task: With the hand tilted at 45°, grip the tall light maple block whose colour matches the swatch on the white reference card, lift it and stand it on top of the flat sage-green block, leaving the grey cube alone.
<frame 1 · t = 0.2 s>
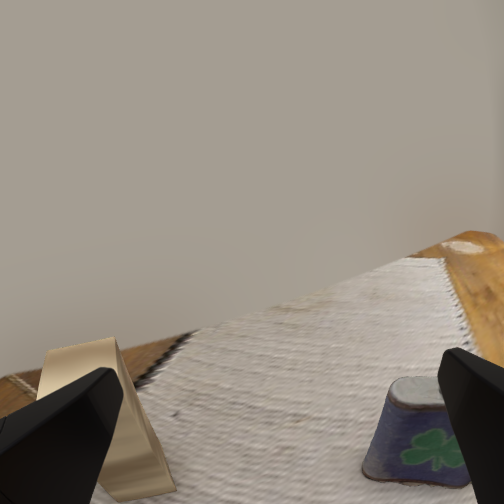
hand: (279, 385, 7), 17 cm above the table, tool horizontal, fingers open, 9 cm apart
flask: (419, 473, 16), on the table
maple pillar: (140, 473, 18), on the table
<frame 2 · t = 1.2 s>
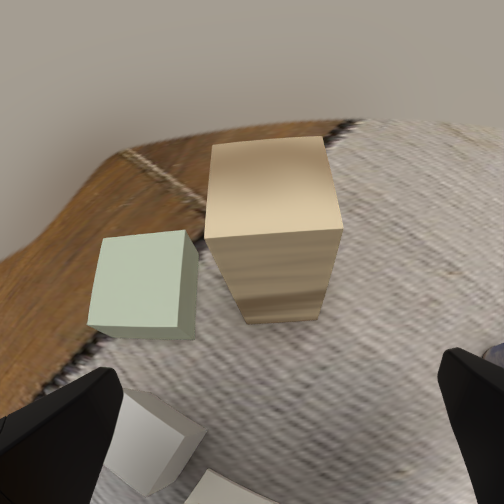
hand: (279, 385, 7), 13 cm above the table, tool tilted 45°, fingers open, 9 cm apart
maple pillar: (280, 289, 22), on the table
grey cube: (162, 437, 18), on the table
sage base block: (156, 297, 24), on the table
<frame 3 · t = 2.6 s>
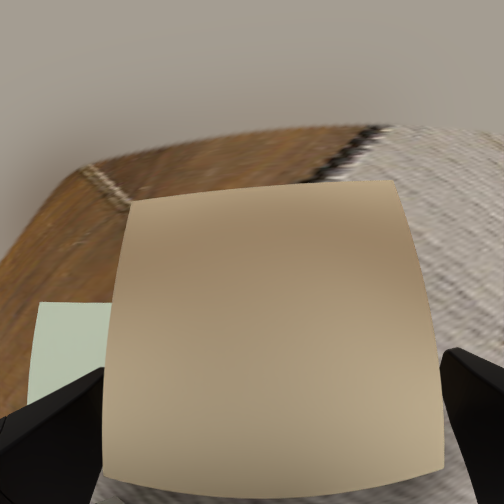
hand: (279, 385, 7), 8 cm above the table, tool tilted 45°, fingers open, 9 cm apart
maple pillar: (282, 383, 15), on the table
sage base block: (114, 379, 16), on the table
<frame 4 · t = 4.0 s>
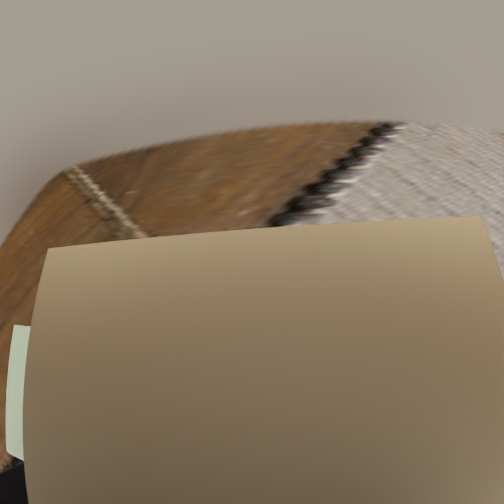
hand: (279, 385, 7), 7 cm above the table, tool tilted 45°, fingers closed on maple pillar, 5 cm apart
maple pillar: (284, 421, 12), on the table, touching gripper
sage base block: (98, 409, 13), on the table
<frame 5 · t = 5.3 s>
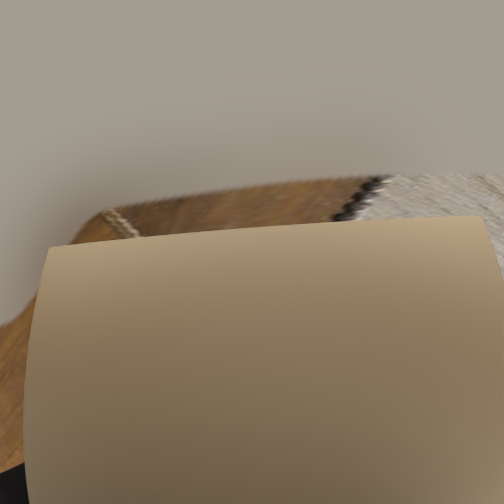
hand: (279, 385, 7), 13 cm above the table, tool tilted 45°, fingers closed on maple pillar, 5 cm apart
maple pillar: (284, 420, 12), point 7 cm above the table, touching gripper
when the fingers open (11 cm above the table, at t = 6.8 s): maple pillar drops 1 cm, resting on sage base block.
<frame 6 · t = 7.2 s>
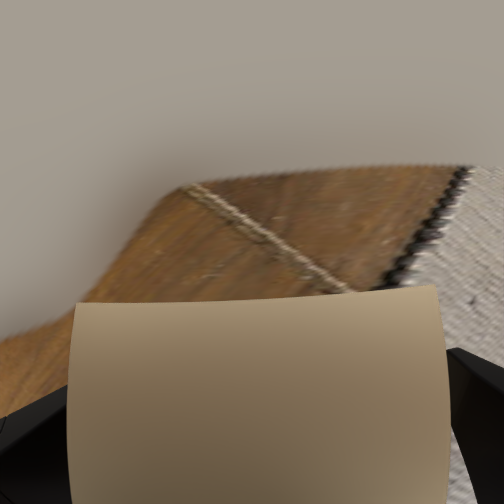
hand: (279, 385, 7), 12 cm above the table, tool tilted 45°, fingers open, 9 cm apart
maple pillar: (282, 418, 13), point 4 cm above the table, touching sage base block
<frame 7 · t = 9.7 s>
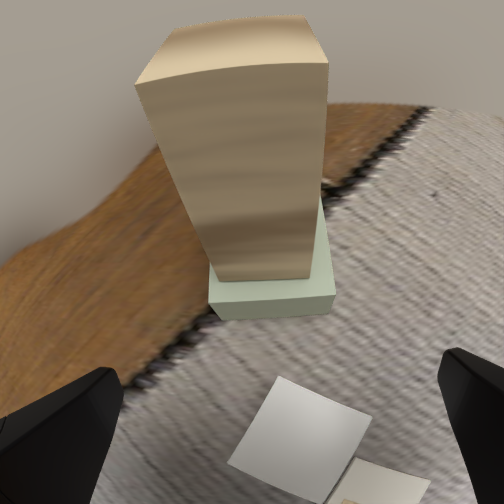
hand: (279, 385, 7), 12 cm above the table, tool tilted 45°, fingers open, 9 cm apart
maple pillar: (263, 240, 18), point 4 cm above the table, touching sage base block
grey cube: (297, 432, 16), on the table
sage base block: (272, 271, 22), on the table, touching maple pillar
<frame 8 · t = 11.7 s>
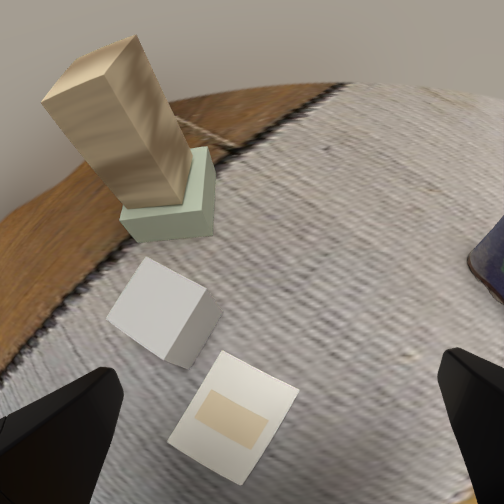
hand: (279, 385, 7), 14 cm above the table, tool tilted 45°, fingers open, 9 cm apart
flask: (502, 292, 20), on the table
maple pillar: (160, 181, 24), point 4 cm above the table
reference card: (232, 419, 19), on the table
grey cube: (179, 325, 22), on the table
sage base block: (178, 208, 28), on the table
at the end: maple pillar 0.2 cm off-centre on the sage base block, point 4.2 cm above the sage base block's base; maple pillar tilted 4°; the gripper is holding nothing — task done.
